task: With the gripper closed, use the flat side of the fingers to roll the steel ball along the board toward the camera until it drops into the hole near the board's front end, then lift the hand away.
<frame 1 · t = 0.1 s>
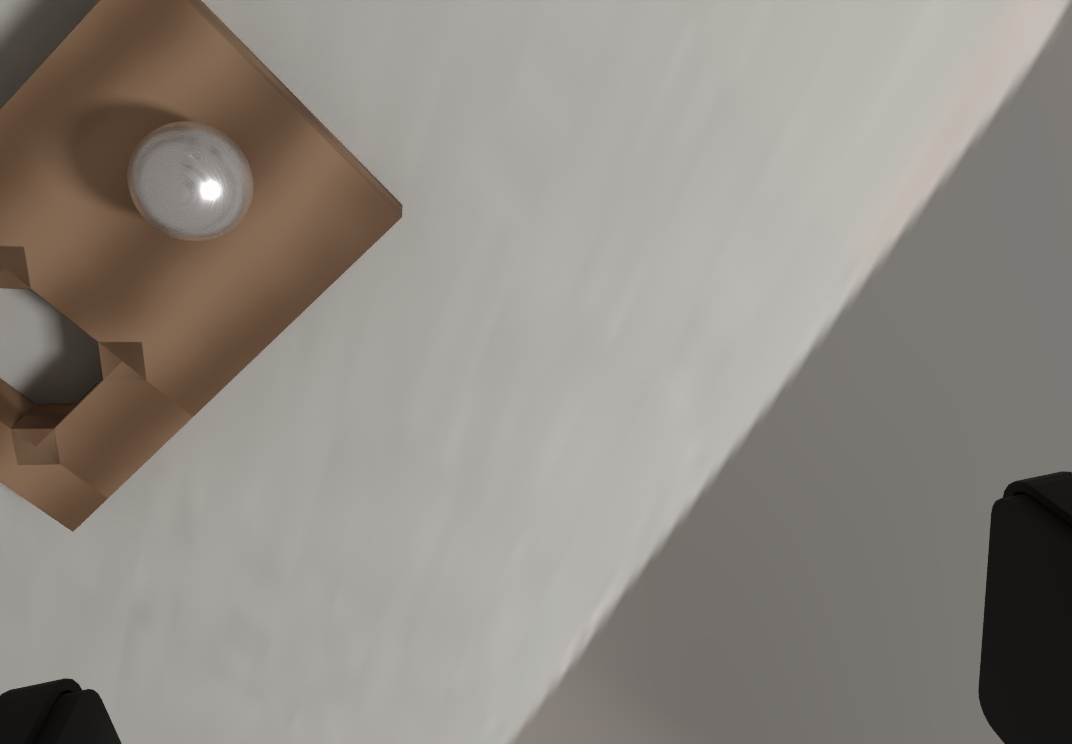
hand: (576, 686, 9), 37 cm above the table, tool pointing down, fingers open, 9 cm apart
ball: (192, 182, 36), point 5 cm above the table, touching deck
deck: (123, 260, 43), on the table
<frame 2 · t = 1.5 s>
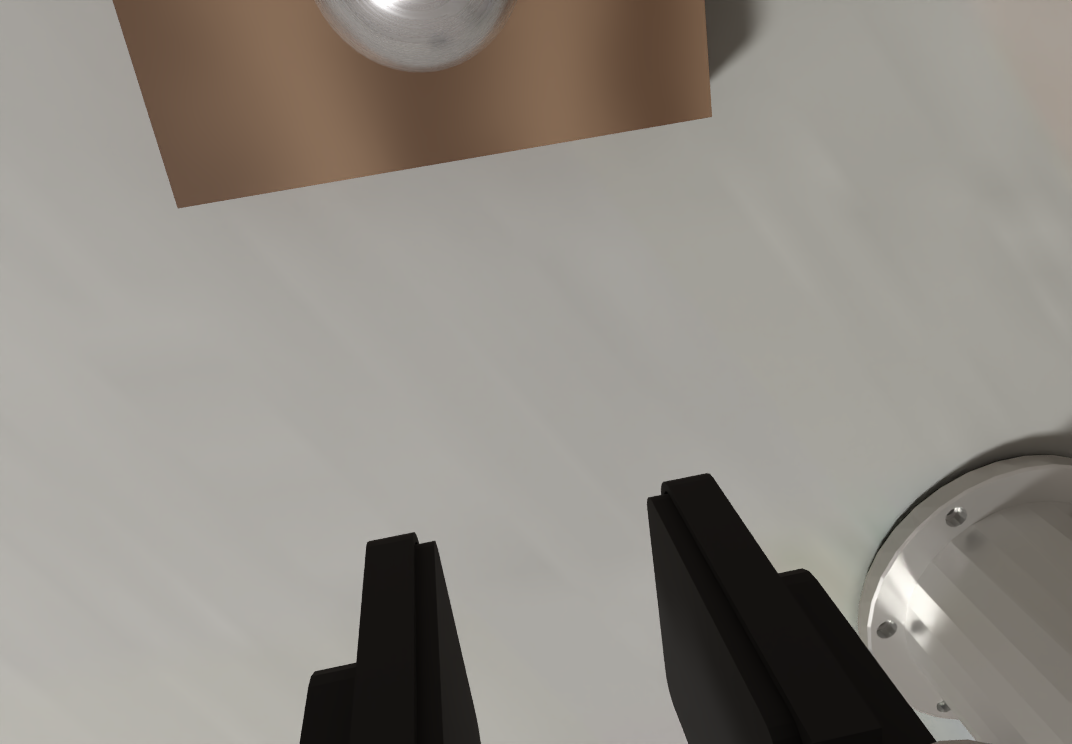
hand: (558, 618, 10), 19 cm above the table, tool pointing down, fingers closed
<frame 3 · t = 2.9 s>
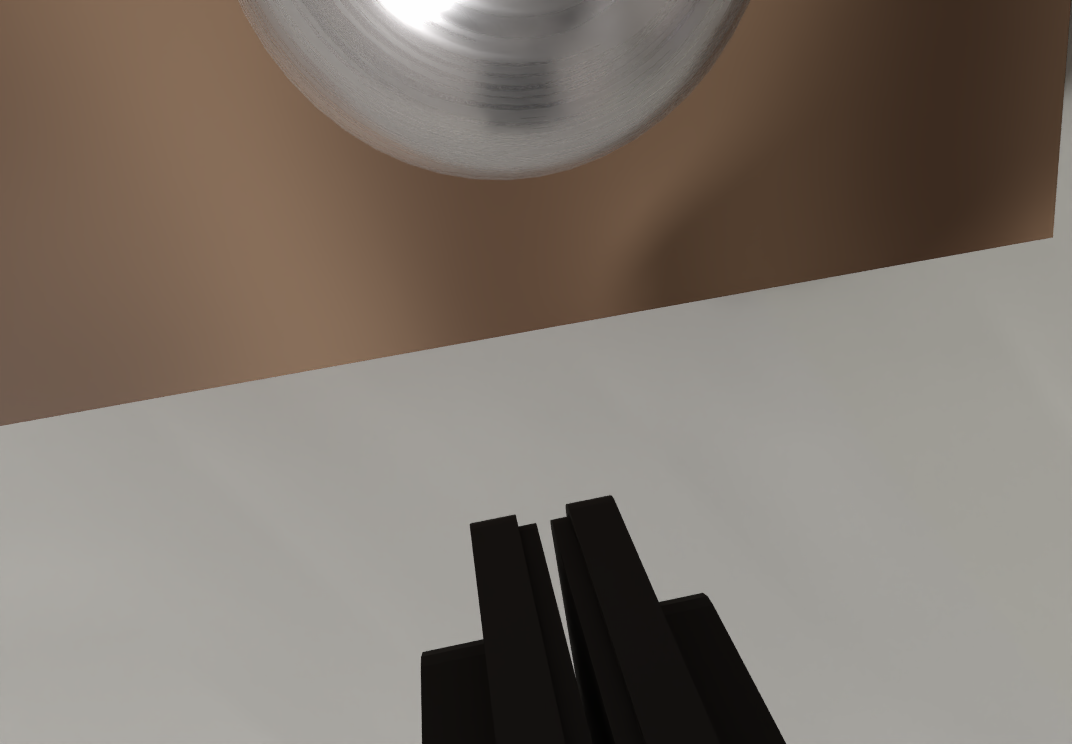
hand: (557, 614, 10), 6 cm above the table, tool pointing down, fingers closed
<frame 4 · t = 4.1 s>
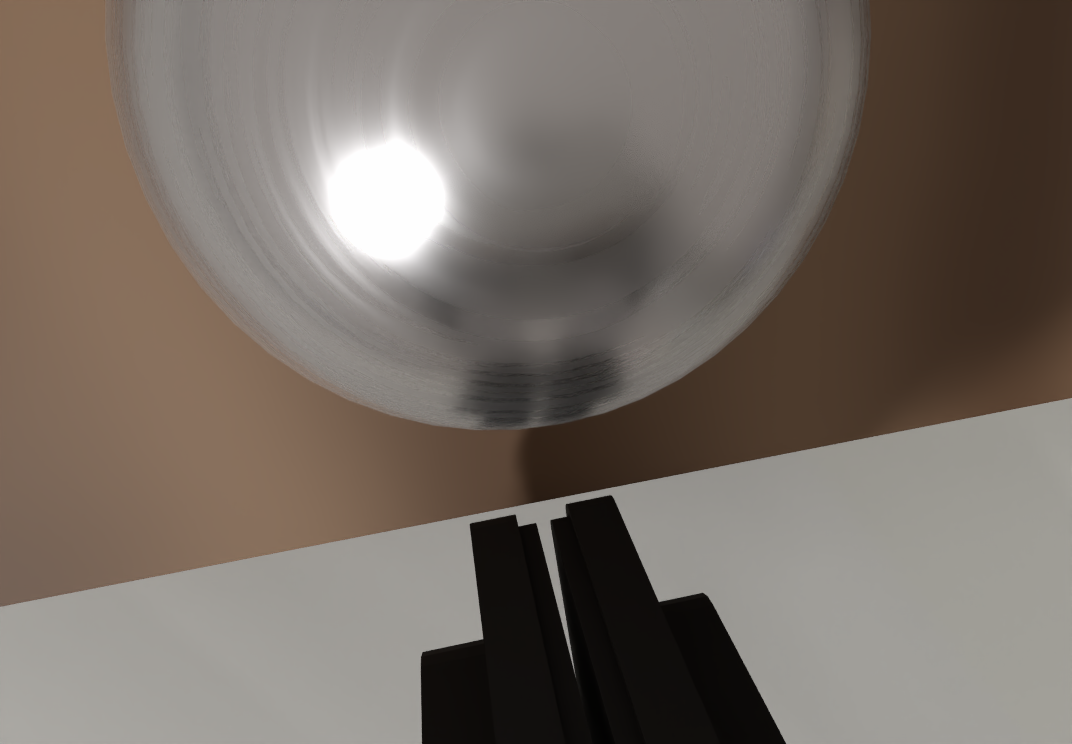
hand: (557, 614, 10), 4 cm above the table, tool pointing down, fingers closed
ball: (495, 80, 6), point 5 cm above the table, touching deck
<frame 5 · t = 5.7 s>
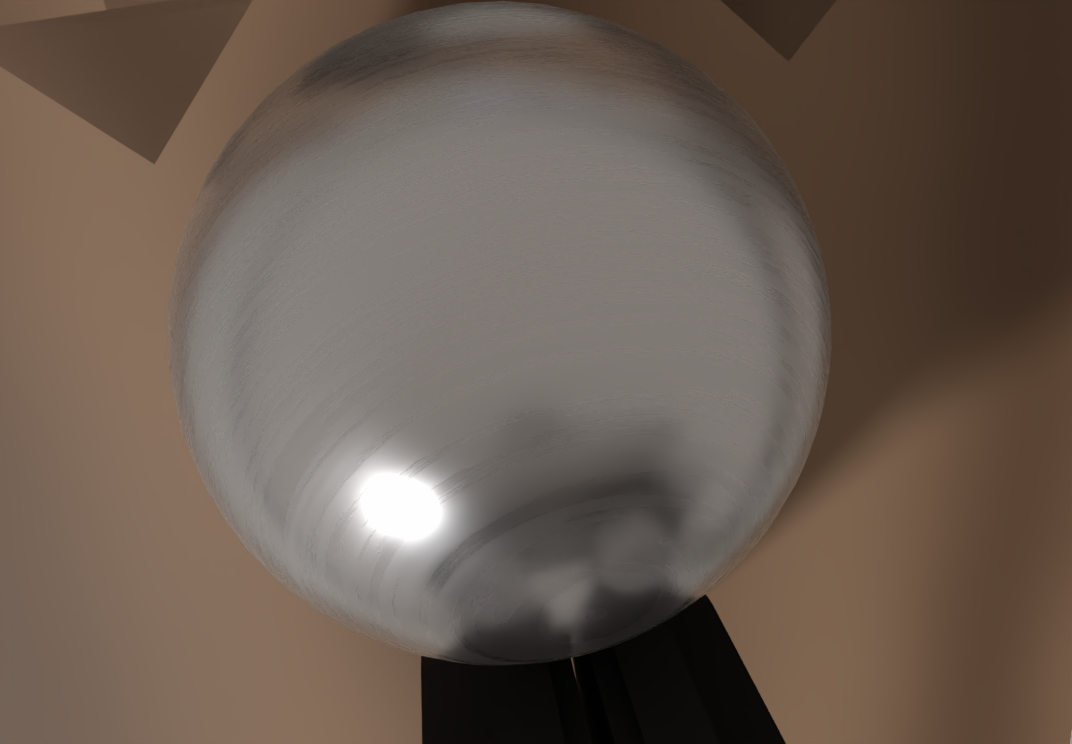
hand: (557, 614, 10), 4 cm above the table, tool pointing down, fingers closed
ball: (504, 338, 7), point 5 cm above the table, tilted 154°, touching deck
deck: (480, 191, 12), on the table
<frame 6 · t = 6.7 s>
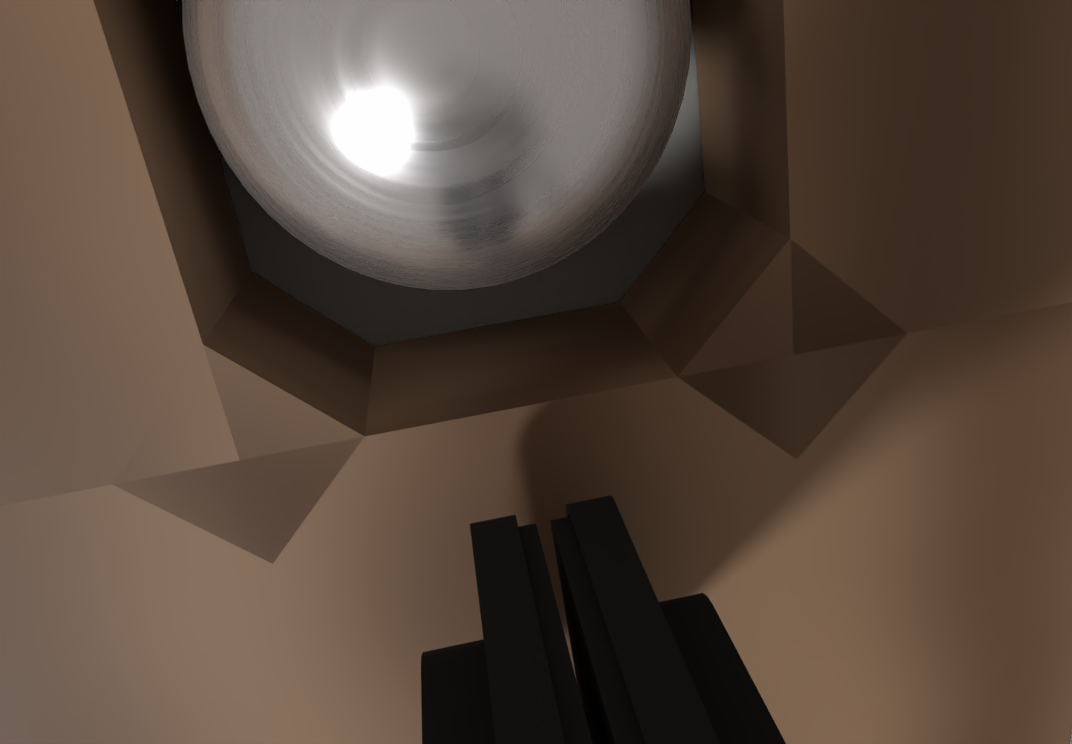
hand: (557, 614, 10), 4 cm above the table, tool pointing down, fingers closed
ball: (444, 46, 9), point 2 cm above the table, tilted 5°
deck: (526, 484, 14), on the table
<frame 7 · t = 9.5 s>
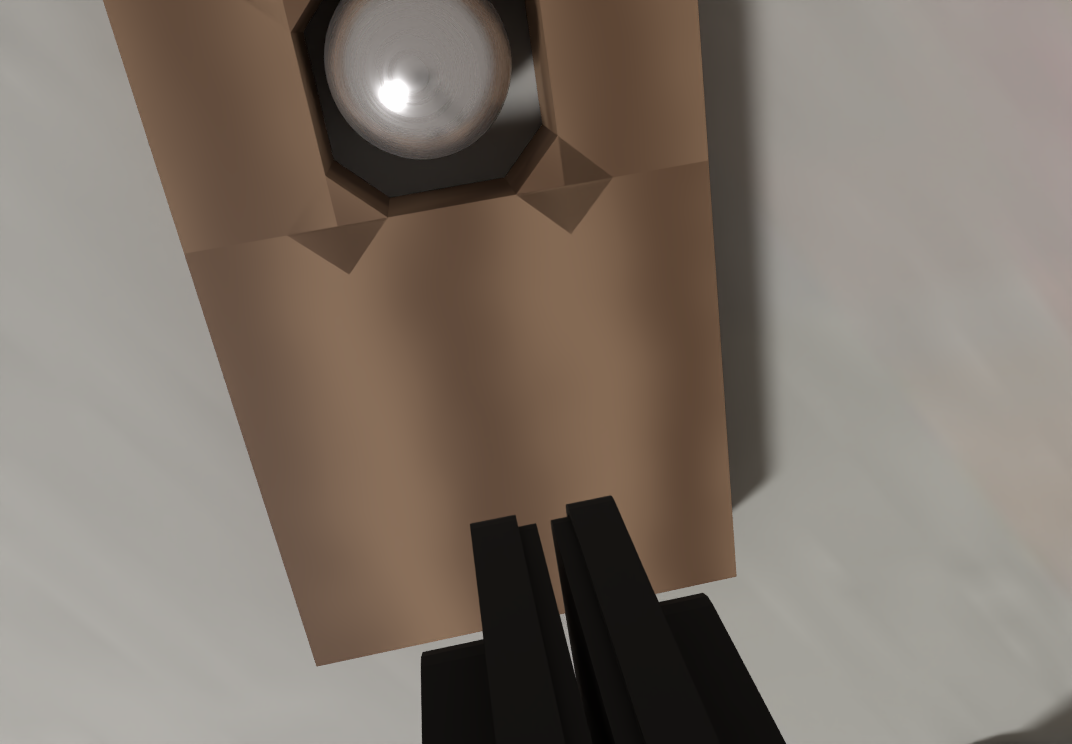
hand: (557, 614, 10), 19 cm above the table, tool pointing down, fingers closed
ball: (419, 64, 23), point 2 cm above the table, tilted 6°
deck: (463, 270, 28), on the table
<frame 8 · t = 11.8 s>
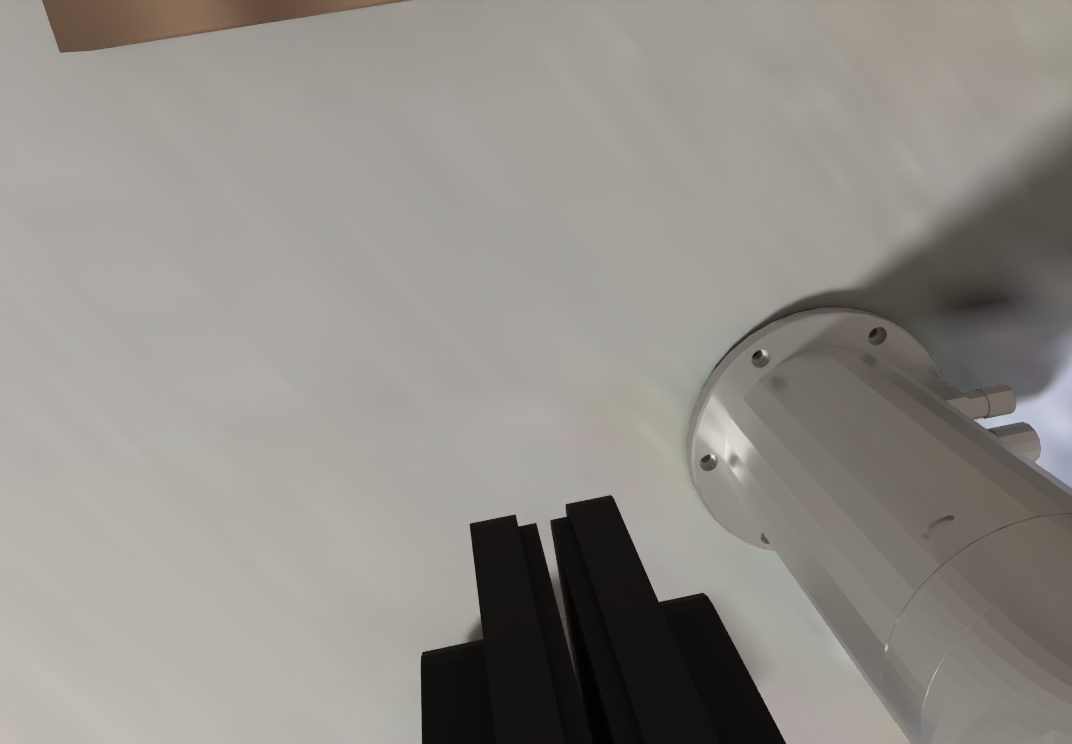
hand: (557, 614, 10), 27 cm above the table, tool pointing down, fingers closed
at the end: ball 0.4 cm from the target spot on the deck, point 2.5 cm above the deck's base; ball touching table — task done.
